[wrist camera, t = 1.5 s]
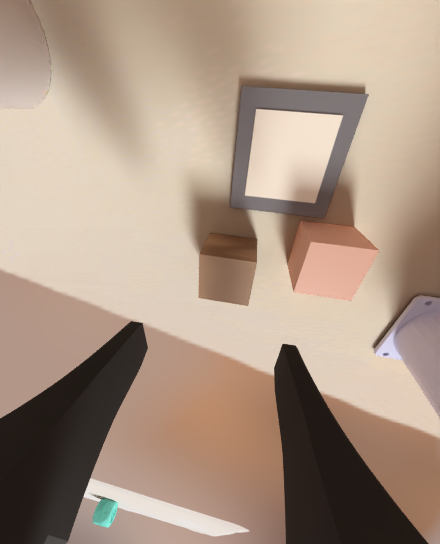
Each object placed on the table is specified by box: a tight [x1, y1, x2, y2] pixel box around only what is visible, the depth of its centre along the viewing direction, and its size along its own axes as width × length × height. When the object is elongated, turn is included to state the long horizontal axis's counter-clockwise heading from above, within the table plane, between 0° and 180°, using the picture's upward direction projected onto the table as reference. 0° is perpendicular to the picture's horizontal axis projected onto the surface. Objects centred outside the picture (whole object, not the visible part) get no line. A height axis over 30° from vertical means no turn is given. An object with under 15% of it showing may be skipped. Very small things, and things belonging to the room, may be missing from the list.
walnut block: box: [199, 233, 257, 306], centre depth 17 cm, size 4×4×4 cm
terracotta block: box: [287, 220, 379, 301], centre depth 15 cm, size 4×4×4 cm
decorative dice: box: [93, 498, 118, 527], centre depth 103 cm, size 8×8×8 cm
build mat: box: [230, 86, 369, 218], centre depth 14 cm, size 7×7×1 cm
